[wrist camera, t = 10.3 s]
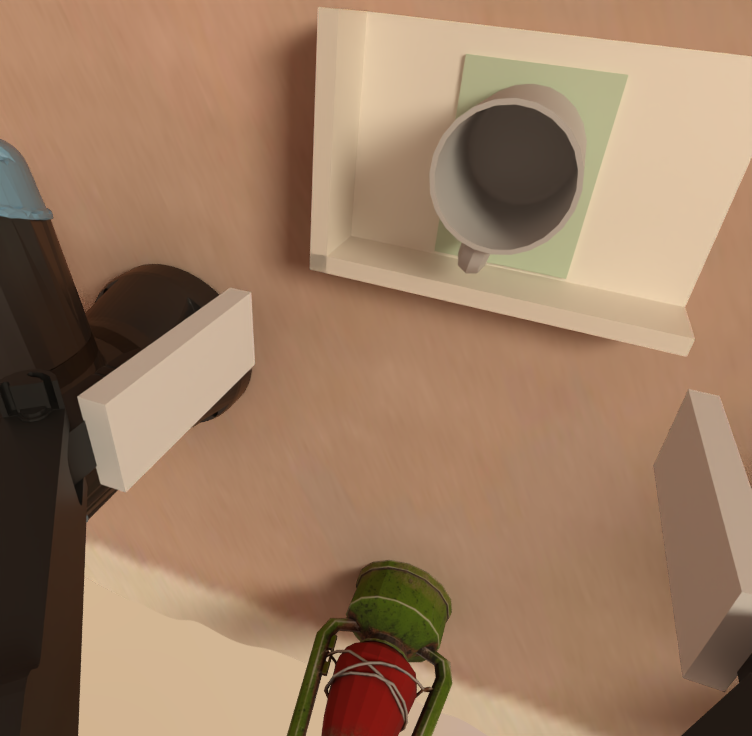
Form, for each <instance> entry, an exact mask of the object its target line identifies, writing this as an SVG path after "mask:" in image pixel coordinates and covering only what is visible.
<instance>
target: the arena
mask: <svg viewBox="0 0 752 736" xmlns="http://www.w3.org/2000/svg"><path fill="white" fill-rule="evenodd" d="M466 54H472V55H480V56H487V57H495V58H503V59H510V60H518V61H526V62H534V63H541V64H549V65H557V66H564V67H572V68H580V69H587V70H595V71H603V72H611V73H618V74H626V75H628V78H627V82H626V85H625V88H624V92H623V95H622V98H621V101H620V105H619V108H618V111H617V114H616V118H615V121H614V124H613V128H612V131H611V134H610V137H609V141H608V144H607V147H606V150H605V154H604V157H603V160H602V164H601V167H600V170H599V173H598V177H597V180H596V183H595V186H594V190H593V193H592V196H591V200H590V203H589V206H588V209H587V213H586V216H585V219H584V222H583V226H582V229H581V232H580V236H579V239H578V242H577V245H576V249H575V252H574V255H573V258H572V262H571V265H570V268H569V272H568V275H567V278H566V279H564V278H559V277H554V276H550V275H545V274H540V273H535V272H531V271H526V270H521V269H517V268H512V267H507V266H502V265H498V264H493V263H488V262H486V264H485V266H484V267H483V268H482V269H481V270H480V271H479V272H478V273H465V272H464V271H463V270H462V269H461V268H460V267H459V266H458V256H455V255H451V254H446V253H441V252H437V251H434V250H435V244H436V238H437V231H438V225H439V219H440V218H439V216H438V215H437V213H436V211H435V208H434V205H433V201H432V198H431V194H430V177H429V173H430V168H431V163H432V158H433V154H434V152H435V150H436V147H437V145H438V143H439V141H440V139H441V137H442V135H443V134H444V133H445V132H446V130H447V129H448V128H449V127H450V126H451V125H452V123H453V122H454V121H455V119H456V113H457V107H458V100H459V94H460V88H461V82H462V75H463V69H464V63H465V57H466ZM751 158H752V56H744V55H736V54H727V53H719V52H710V51H702V50H693V49H684V48H676V47H667V46H659V45H650V44H642V43H633V42H625V41H616V40H608V39H599V38H591V37H582V36H574V35H565V34H557V33H548V32H540V31H531V30H523V29H514V28H506V27H497V26H489V25H480V24H472V23H463V22H455V21H446V20H437V19H429V18H420V17H412V16H403V15H395V14H386V13H378V12H369V11H361V10H352V9H340V8H327V7H318V20H317V51H316V83H315V114H314V146H313V177H312V209H311V240H310V270H315V271H319V272H323V273H327V274H332V275H336V276H340V277H345V278H349V279H353V280H358V281H362V282H366V283H371V284H375V285H379V286H384V287H388V288H392V289H397V290H401V291H405V292H409V293H414V294H418V295H422V296H427V297H431V298H435V299H440V300H444V301H448V302H453V303H457V304H461V305H466V306H470V307H474V308H478V309H483V310H487V311H491V312H496V313H500V314H504V315H509V316H513V317H517V318H522V319H526V320H530V321H535V322H539V323H543V324H548V325H552V326H556V327H560V328H565V329H569V330H573V331H578V332H582V333H586V334H591V335H595V336H599V337H604V338H608V339H612V340H617V341H621V342H625V343H630V344H634V345H638V346H642V347H647V348H651V349H655V350H660V351H664V352H668V353H673V354H677V355H681V356H686V357H687V355H688V353H689V351H690V349H691V347H692V344H693V342H694V340H695V337H694V334H693V331H692V328H691V325H690V321H689V318H688V315H687V312H686V309H685V306H686V304H687V301H688V299H689V297H690V295H691V292H692V290H693V288H694V286H695V283H696V281H697V279H698V277H699V275H700V272H701V270H702V268H703V266H704V263H705V261H706V259H707V257H708V254H709V252H710V250H711V248H712V245H713V243H714V241H715V239H716V236H717V234H718V232H719V230H720V227H721V225H722V223H723V221H724V218H725V216H726V214H727V212H728V209H729V207H730V205H731V203H732V200H733V198H734V196H735V194H736V191H737V189H738V187H739V185H740V182H741V180H742V178H743V176H744V174H745V171H746V169H747V167H748V165H749V162H750V160H751Z"/></svg>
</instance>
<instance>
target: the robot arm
mask: <svg viewBox="0 0 752 736" xmlns="http://www.w3.org/2000/svg"><path fill="white" fill-rule="evenodd" d="M51 219H53V214H52V211H51V210H49V209H48V208H46V206H45V204H44V202H43V199H42V197H41V195H40V193H39V190H38V188H37V186H36V183H35V181H34V179H33V176H32V174H31V171H30V169H29V167H28V164H27V162H26V161H25V159H24V157H23V156H22V155H21V153H20V152H19V151H18V150H17V149H16V148H15V147H13V146H12V145H11V144H9V143H8V142H6V141H4V140H2V139H0V736H78V724H79V697H80V672H81V646H82V644H81V643H82V620H83V619H82V618H83V594H84V592H83V591H84V568H85V543H86V522H88V519H89V518H90V517H91V516H93V515H94V514H95V513H96V512H97V511H98V510H99V509H100V508H101V507H102V506H103V505H104V504H105V503H106V502H107V501H108V500H109V499H110V498H111V497H112V496H113V495H114V494H115V493H116V492H117V491H118V490H120V491H123V492H127V491H128V490H129V489H130V488H131V487H132V486H133V485H134V484H135V483H136V482H137V481H138V480H139V479H140V478H141V477H142V476H143V475H144V474H145V473H146V472H147V471H148V470H149V469H150V468H151V467H152V466H153V465H154V464H155V463H156V462H157V461H158V460H159V459H160V458H161V457H162V456H163V455H164V454H165V453H166V452H167V451H168V450H169V449H170V448H171V447H172V446H173V445H174V444H175V443H176V442H177V441H178V440H179V439H180V438H181V437H182V436H183V435H184V434H185V433H186V432H187V431H188V430H189V429H190V428H192V427H194V426H196V425H197V424H199V423H200V422H205V421H208V420H211V419H214V418H216V417H218V416H220V415H221V414H223V413H224V412H225V411H227V410H228V409H229V408H230V407H231V406H232V405H233V404H234V403H235V402H236V401H237V400H238V399H239V398H240V397H241V395H242V394H243V393H244V391H245V390H246V388H247V386H248V384H249V381H250V377H251V371H252V367H253V366H254V365H255V354H254V335H253V317H252V298H251V292H248V291H244V290H239V289H235V288H229V289H227V290H226V291H225V292H223V293H222V294H220V295H219V294H218V293H217V292H216V291H215V290H213V289H212V288H211V287H210V286H209V285H207V284H206V283H205V282H203V281H202V280H200V279H199V278H197V277H195V276H194V275H192V274H190V273H188V272H186V271H183V270H181V269H178V268H175V267H172V266H167V265H160V264H149V265H143V266H139V267H136V268H134V269H132V270H130V271H128V272H126V273H124V274H122V275H120V276H118V277H116V278H115V279H113V280H112V281H111V282H110V283H108V284H107V285H106V286H105V287H104V288H103V290H102V291H101V292H100V294H99V295H98V297H97V299H96V301H95V304H94V305H93V306H92V307H91V308H90V309H89V310H88V311H87V312H86V313H85V311H84V309H83V306H82V303H81V301H80V298H79V295H78V292H77V290H76V287H75V284H74V282H73V279H72V276H71V273H70V271H69V268H68V265H67V263H66V260H65V257H64V254H63V252H62V249H61V246H60V244H59V241H58V238H57V235H56V233H55V230H54V227H53V225H52V222H51ZM653 466H654V473H655V481H656V488H657V495H658V502H659V510H660V517H661V524H662V532H663V539H664V546H665V553H666V561H667V568H668V575H669V582H670V590H671V597H672V604H673V611H674V619H675V626H676V633H677V640H678V648H679V655H680V662H681V669H682V677H683V678H684V679H687V680H690V681H693V682H696V683H699V684H702V685H705V686H708V687H711V688H714V689H717V690H720V691H723V692H725V691H726V690H727V688H728V687H729V686H730V684H731V683H732V682H733V681H734V679H735V678H736V677H737V676H738V679H739V684H738V685H737V686H736V687H734V688H733V689H732V690H731V691H730V692H729V693H728V694H727V695H726V696H724V697H723V698H722V699H721V700H720V701H719V702H718V703H717V704H716V705H715V706H713V707H712V708H711V709H710V710H709V711H708V712H707V713H706V714H705V715H704V716H702V717H701V718H700V719H699V720H698V721H697V722H696V723H695V724H694V725H692V726H691V727H690V728H689V729H688V730H687V731H686V732H685V733H684V734H683V735H681V736H752V489H751V486H750V483H749V480H748V477H747V474H746V472H745V469H744V466H743V463H742V460H741V457H740V454H739V451H738V448H737V445H736V442H735V440H734V437H733V434H732V431H731V428H730V425H729V422H728V419H727V416H726V413H725V410H724V408H723V405H722V402H721V399H720V396H718V395H713V394H709V393H704V392H699V391H695V390H690V389H688V391H687V393H686V396H685V398H684V400H683V402H682V404H681V406H680V409H679V411H678V413H677V415H676V417H675V420H674V422H673V424H672V426H671V428H670V430H669V433H668V435H667V437H666V439H665V441H664V443H663V446H662V448H661V450H660V452H659V454H658V457H657V459H656V461H655V463H654V465H653Z"/></svg>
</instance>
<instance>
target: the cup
mask: <svg viewBox="0 0 752 736" xmlns="http://www.w3.org/2000/svg"><path fill="white" fill-rule="evenodd" d="M586 145H587V139H586V134H585V128H584V123H583V121H582V119H581V117H580V115H579V113H578V111H577V109H576V107H575V106H574V105H573V104H572V103H571V102H570V101H569V100H568V99H567V98H566V97H565V95H563V94H561V93H559V92H558V91H556V90H554V89H552V88H551V87H547V86H542V85H538V84H521V85H514V86H511V87H508V88H505V89H503V90H500V91H498V92H496V93H495V94H493V95H491V96H490V97H488V98H487V99H485V100H484V101H482V102H480V103H479V104H477V105H476V106H474V107H473V108H471V109H470V110H468V111H467V112H466V113H464V114H463V115H461V116H460V117H458V118H457V119H456V120H455V121H454V122H453V123H452V125H451V126H450V127H449V128H448V129H447V130H446V132H445V133H444V134H443V135H442V137H441V139H440V141H439V143H438V145H437V147H436V150H435V152H434V154H433V158H432V163H431V168H430V173H429V177H430V194H431V198H432V201H433V205H434V208H435V211H436V213H437V215H438V216H439V218H440V220H441V221H442V223H443V225H444V226H445V228H446V229H447V230H448V231H449V232H450V233H451V234H452V235H453V236H454V237H455V238H456V239H457V240H459V241H460V242H462V243H461V246H460V249H459V252H458V266H459V267H460V268H461V269H462V270H463V271H464V272H465V273H478V272H479V271H480V270H481V269H482V268H483V267H484V266H485V264H486V262H487V260H488V258H489V256H490V254H495V255H513V254H517V253H521V252H526V251H530V250H532V249H534V248H536V247H538V246H540V245H542V244H544V243H546V242H548V241H549V240H550V239H551V238H552V237H553V236H554V235H556V234H557V233H558V232H559V231H560V230H561V229H562V228H563V227H564V226H565V224H566V223H567V222H568V220H569V219H570V217H571V216H572V214H573V213H574V212H575V209H576V207H577V204H578V201H579V198H580V196H581V193H582V189H583V178H584V168H585V156H586Z"/></svg>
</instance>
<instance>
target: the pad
mask: <svg viewBox="0 0 752 736" xmlns="http://www.w3.org/2000/svg"><path fill="white" fill-rule="evenodd" d="M627 78H628V75H626V74H618V73H611V72H603V71H595V70H587V69H580V68H572V67H564V66H557V65H549V64H541V63H534V62H526V61H518V60H510V59H503V58H495V57H487V56H480V55H472V54H466V57H465V63H464V69H463V75H462V82H461V88H460V94H459V100H458V107H457V113H456V119H457V118H458V117H460V116H461V115H463V114H464V113H466V112H467V111H468V110H470V109H471V108H473V107H474V106H476V105H477V104H479V103H480V102H482V101H484V100H485V99H487V98H488V97H490V96H491V95H493V94H495V93H496V92H498V91H500V90H503V89H505V88H508V87H511V86H514V85H521V84H538V85H542V86H547V87H551V88H552V89H554V90H556V91H558V92H559V93H561V94H563V95H565V97H566V98H567V99H568V100H569V101H570V102H571V103H572V104H573V105H574V106H575V107H576V109H577V111H578V113H579V115H580V117H581V119H582V121H583V123H584V128H585V134H586V139H587V145H586V156H585V168H584V178H583V189H582V193H581V196H580V198H579V201H578V204H577V207H576V209H575V212H574V213H573V214H572V216H571V217H570V219H569V220H568V222H567V223H566V224H565V226H564V227H563V228H562V229H561V230H560V231H559V232H558V233H557V234H556V235H554V236H553V237H552V238H551V239H550V240H549V241H548V242H546V243H544V244H542V245H540V246H538V247H536V248H534V249H532V250H530V251H526V252H521V253H517V254H513V255H495V254H490V256H489V258H488V260H487V262H488V263H493V264H498V265H502V266H507V267H512V268H517V269H521V270H526V271H531V272H535V273H540V274H545V275H550V276H554V277H559V278H564V279H566V278H567V275H568V272H569V268H570V265H571V262H572V258H573V255H574V252H575V249H576V245H577V242H578V239H579V236H580V232H581V229H582V226H583V222H584V219H585V216H586V213H587V209H588V206H589V203H590V200H591V196H592V193H593V190H594V186H595V183H596V180H597V177H598V173H599V170H600V167H601V164H602V160H603V157H604V154H605V150H606V147H607V144H608V141H609V137H610V134H611V131H612V128H613V124H614V121H615V118H616V114H617V111H618V108H619V105H620V101H621V98H622V95H623V92H624V88H625V85H626V82H627ZM456 119H455V120H456ZM461 243H462V242H460V241H459V240H457V239H456V238H455V237H454V236H453V235H452V234H451V233H450V232H449V231H448V230H447V229H446V228H445V226H444V225H443V223H442V221H441V220H440V219H439V225H438V231H437V238H436V244H435V250H434V251H437V252H441V253H446V254H451V255H455V256H458V252H459V249H460V246H461Z"/></svg>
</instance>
